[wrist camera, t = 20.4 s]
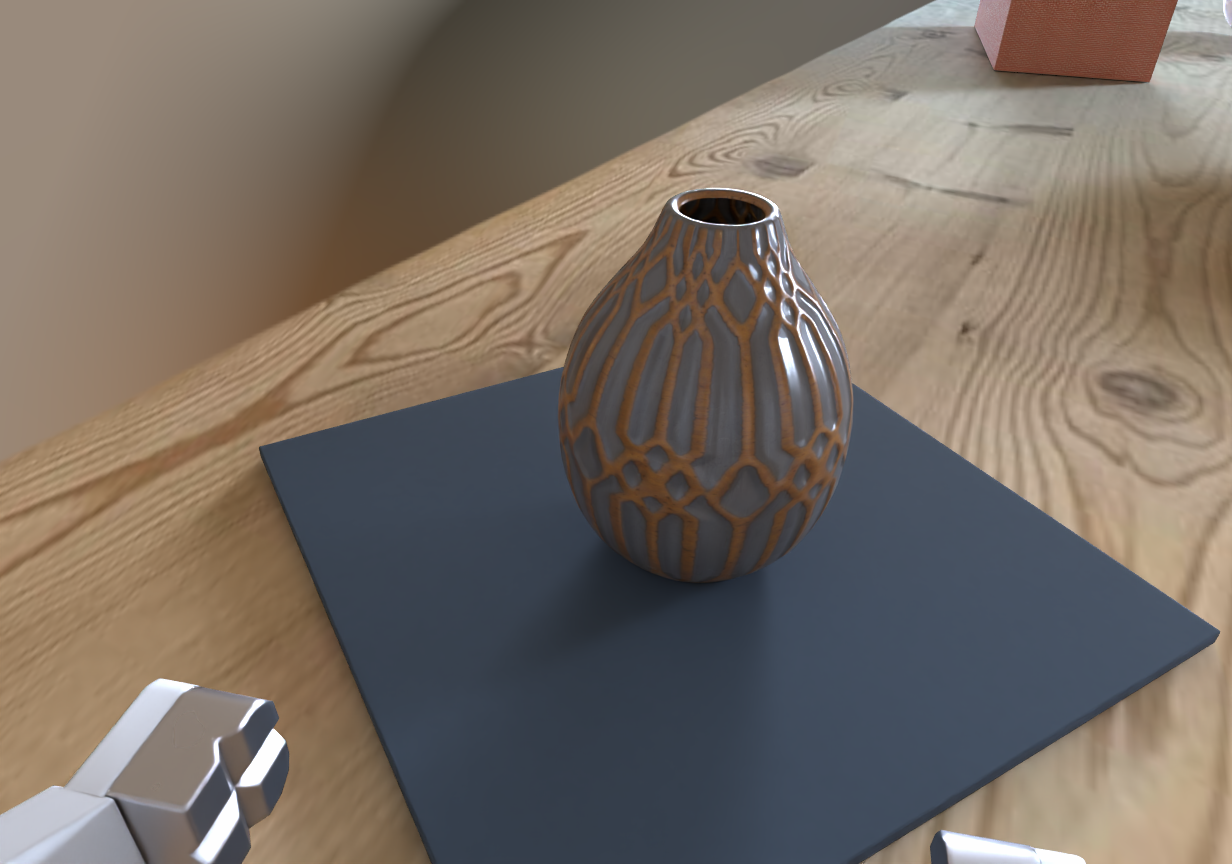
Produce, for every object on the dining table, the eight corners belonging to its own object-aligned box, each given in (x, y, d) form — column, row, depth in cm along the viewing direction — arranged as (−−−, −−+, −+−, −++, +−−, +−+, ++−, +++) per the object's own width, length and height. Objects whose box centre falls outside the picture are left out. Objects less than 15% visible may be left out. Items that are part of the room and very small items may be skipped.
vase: (507, 514, 24) (489, 192, 19) (696, 427, 27) (723, 138, 23) (684, 676, 19) (721, 312, 15) (881, 546, 23) (964, 221, 18)
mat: (520, 1075, 14) (519, 1064, 13) (261, 457, 26) (258, 446, 26) (1214, 642, 21) (1221, 631, 21) (752, 325, 34) (754, 316, 34)
